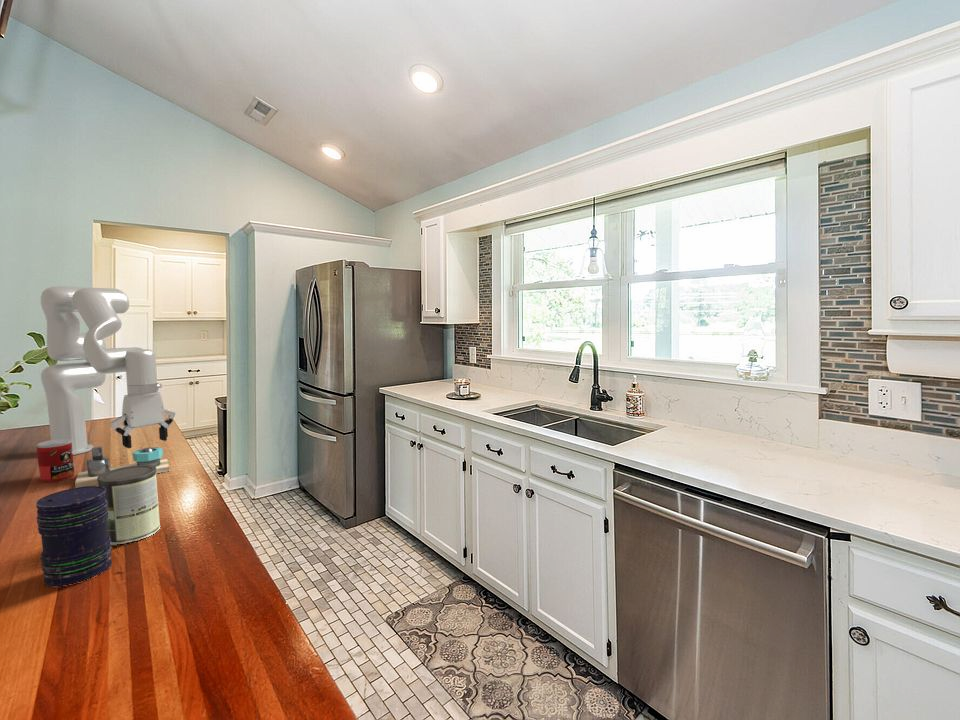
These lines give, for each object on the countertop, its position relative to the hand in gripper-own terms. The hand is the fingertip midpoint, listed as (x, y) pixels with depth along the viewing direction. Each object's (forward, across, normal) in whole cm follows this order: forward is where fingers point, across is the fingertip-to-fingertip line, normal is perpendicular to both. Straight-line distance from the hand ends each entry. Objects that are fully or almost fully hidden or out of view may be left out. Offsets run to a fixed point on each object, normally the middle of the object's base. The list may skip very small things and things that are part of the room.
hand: (146, 443), depth 143 cm
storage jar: (+8, +35, +55) cm, 65 cm away
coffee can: (+8, +22, +46) cm, 51 cm away
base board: (+9, +6, -2) cm, 10 cm away
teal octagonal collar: (+4, 0, +1) cm, 5 cm away
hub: (+7, 0, +1) cm, 7 cm away
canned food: (+9, +17, -16) cm, 25 cm away
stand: (+7, +11, -4) cm, 14 cm away
